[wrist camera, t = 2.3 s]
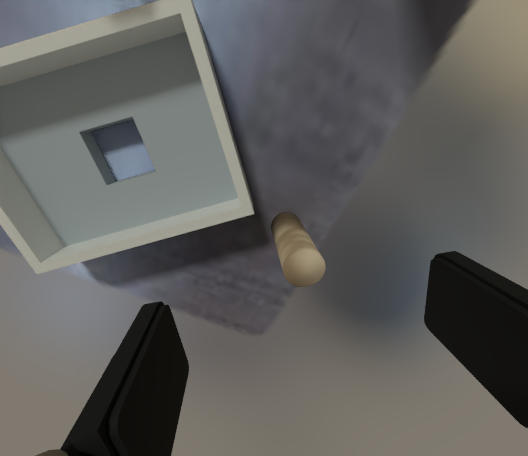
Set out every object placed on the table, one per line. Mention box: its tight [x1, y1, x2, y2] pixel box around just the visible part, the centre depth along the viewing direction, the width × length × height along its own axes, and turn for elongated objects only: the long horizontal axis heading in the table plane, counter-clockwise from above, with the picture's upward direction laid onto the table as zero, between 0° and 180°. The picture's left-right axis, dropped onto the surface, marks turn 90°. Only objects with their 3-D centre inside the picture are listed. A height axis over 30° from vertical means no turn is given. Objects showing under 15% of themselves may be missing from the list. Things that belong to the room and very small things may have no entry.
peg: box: [271, 212, 325, 287], centre depth 26 cm, size 4×4×10 cm
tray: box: [0, 0, 254, 274], centre depth 23 cm, size 22×17×6 cm
